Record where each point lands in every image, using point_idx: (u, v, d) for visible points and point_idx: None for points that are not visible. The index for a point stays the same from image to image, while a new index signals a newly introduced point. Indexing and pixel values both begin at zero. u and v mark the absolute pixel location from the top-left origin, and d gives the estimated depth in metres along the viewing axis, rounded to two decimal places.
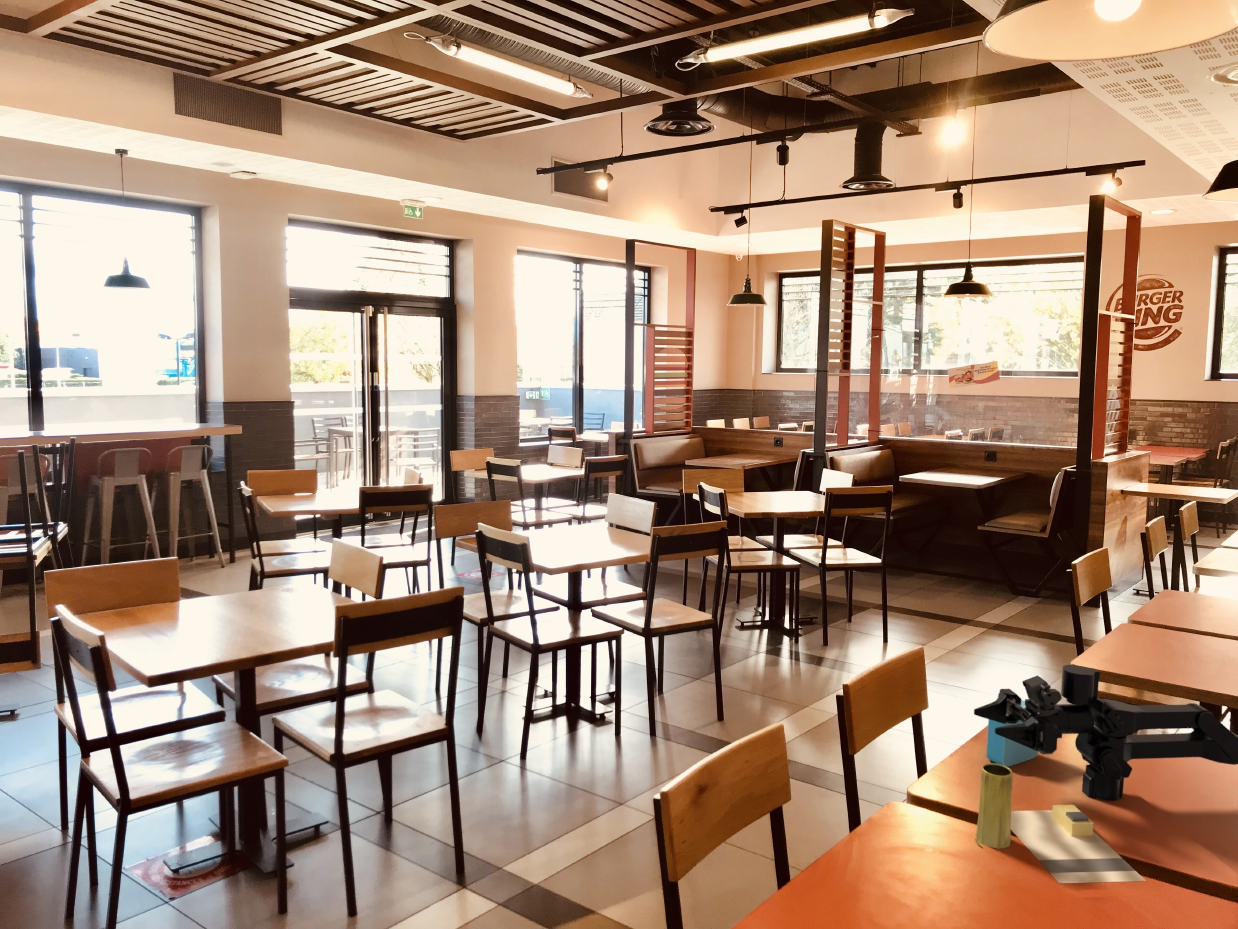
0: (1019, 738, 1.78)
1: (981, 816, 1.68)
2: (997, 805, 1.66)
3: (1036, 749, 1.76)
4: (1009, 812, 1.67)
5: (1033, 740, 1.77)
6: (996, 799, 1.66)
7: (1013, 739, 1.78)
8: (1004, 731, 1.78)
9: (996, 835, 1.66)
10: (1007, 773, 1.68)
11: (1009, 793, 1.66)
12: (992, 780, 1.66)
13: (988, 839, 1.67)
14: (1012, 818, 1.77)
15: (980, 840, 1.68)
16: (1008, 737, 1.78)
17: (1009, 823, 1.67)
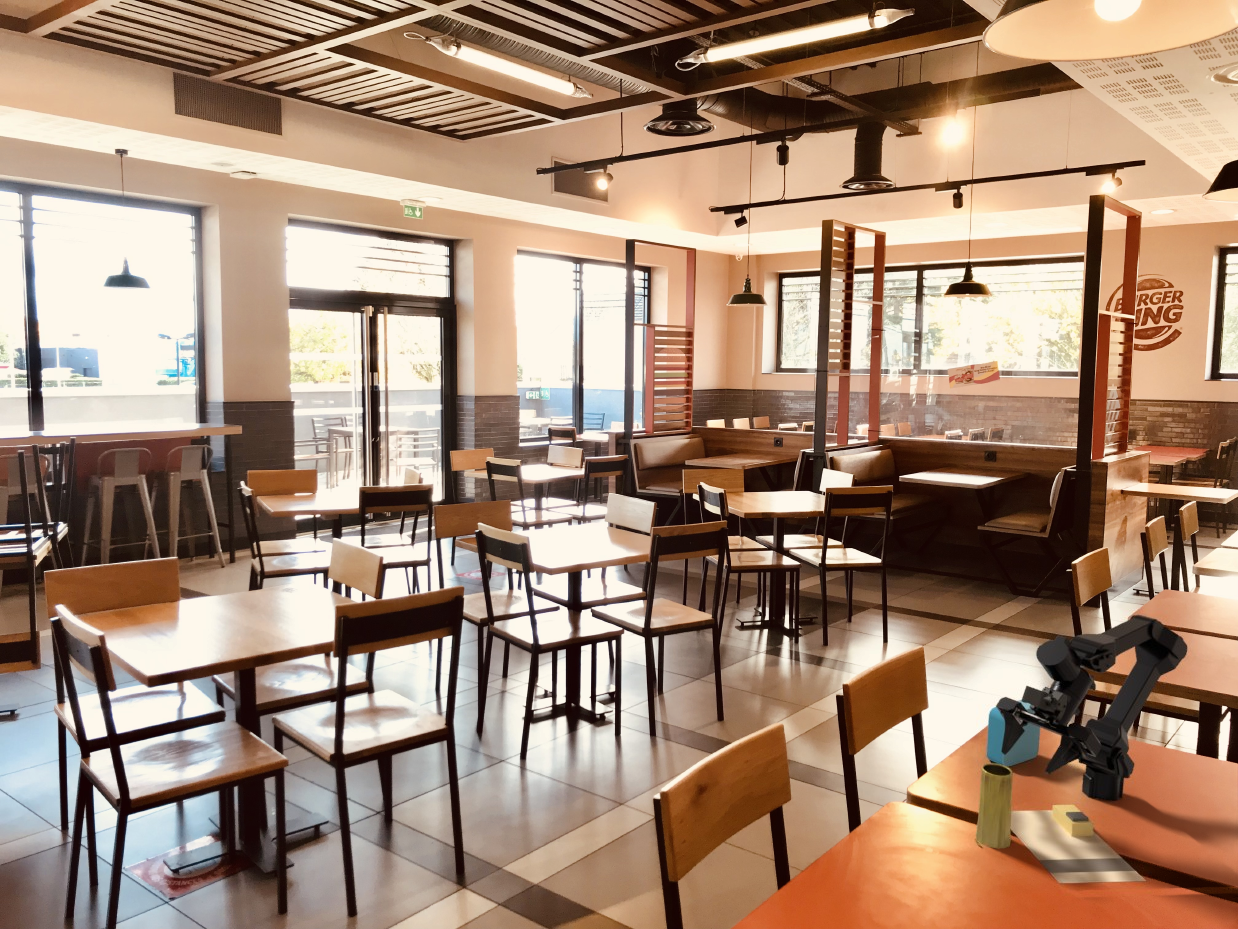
0: (1067, 759, 1.68)
1: (981, 816, 1.68)
2: (997, 805, 1.66)
3: (1086, 756, 1.68)
4: (1009, 812, 1.67)
5: (1078, 751, 1.68)
6: (996, 799, 1.66)
7: (1063, 764, 1.68)
8: (1053, 766, 1.68)
9: (996, 835, 1.66)
10: (1007, 773, 1.68)
11: (1009, 793, 1.66)
12: (993, 780, 1.66)
13: (988, 839, 1.67)
14: (1012, 818, 1.77)
15: (980, 840, 1.68)
16: (1059, 767, 1.68)
17: (1009, 823, 1.67)
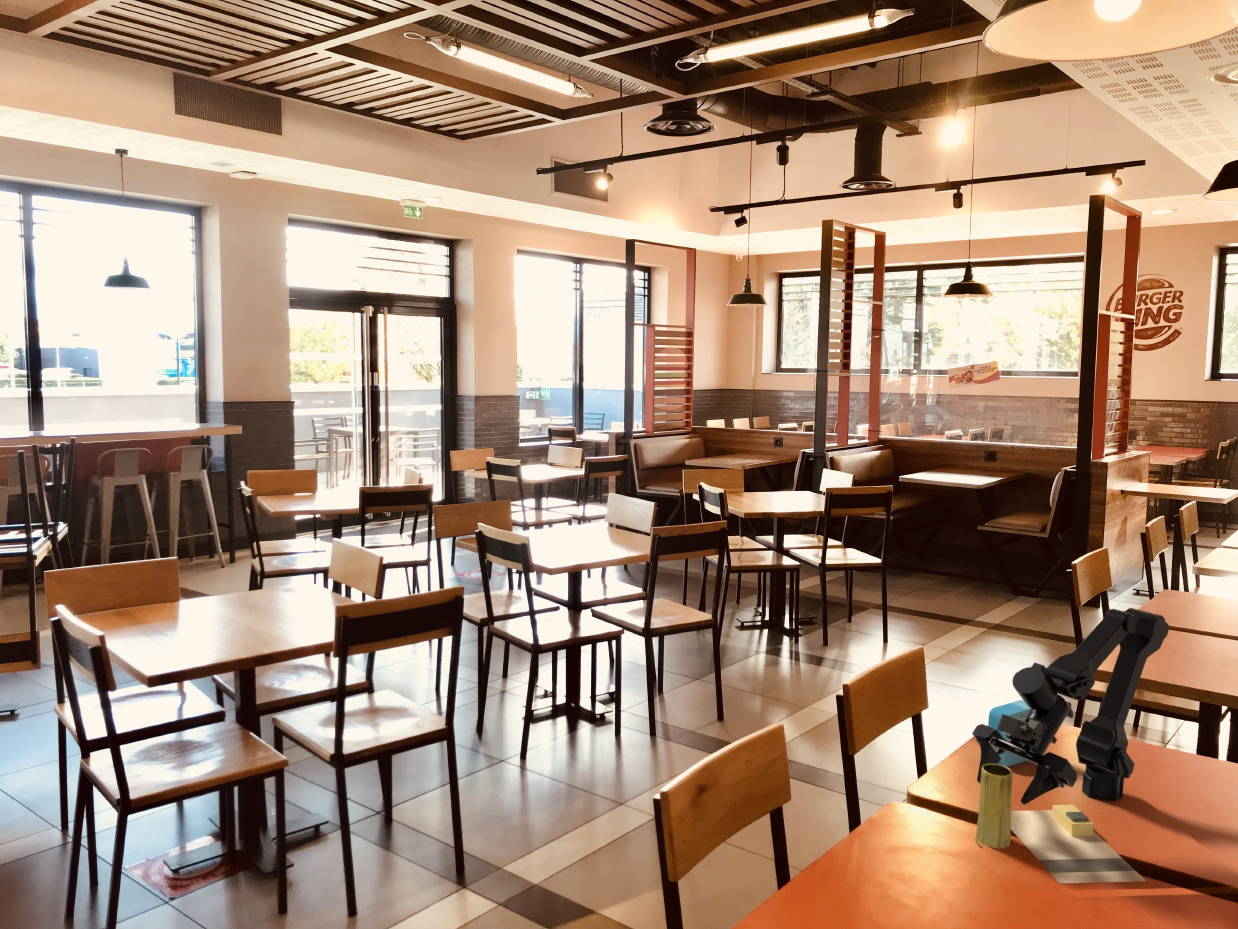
0: (1043, 789, 1.65)
1: (981, 816, 1.68)
2: (997, 805, 1.66)
3: (1062, 787, 1.65)
4: (1009, 812, 1.67)
5: (1054, 781, 1.65)
6: (996, 799, 1.66)
7: (1039, 794, 1.65)
8: (1029, 797, 1.65)
9: (996, 835, 1.66)
10: (1007, 773, 1.68)
11: (1009, 793, 1.66)
12: (993, 780, 1.66)
13: (988, 839, 1.67)
14: (1012, 818, 1.77)
15: (980, 840, 1.68)
16: (1035, 797, 1.65)
17: (1009, 823, 1.67)
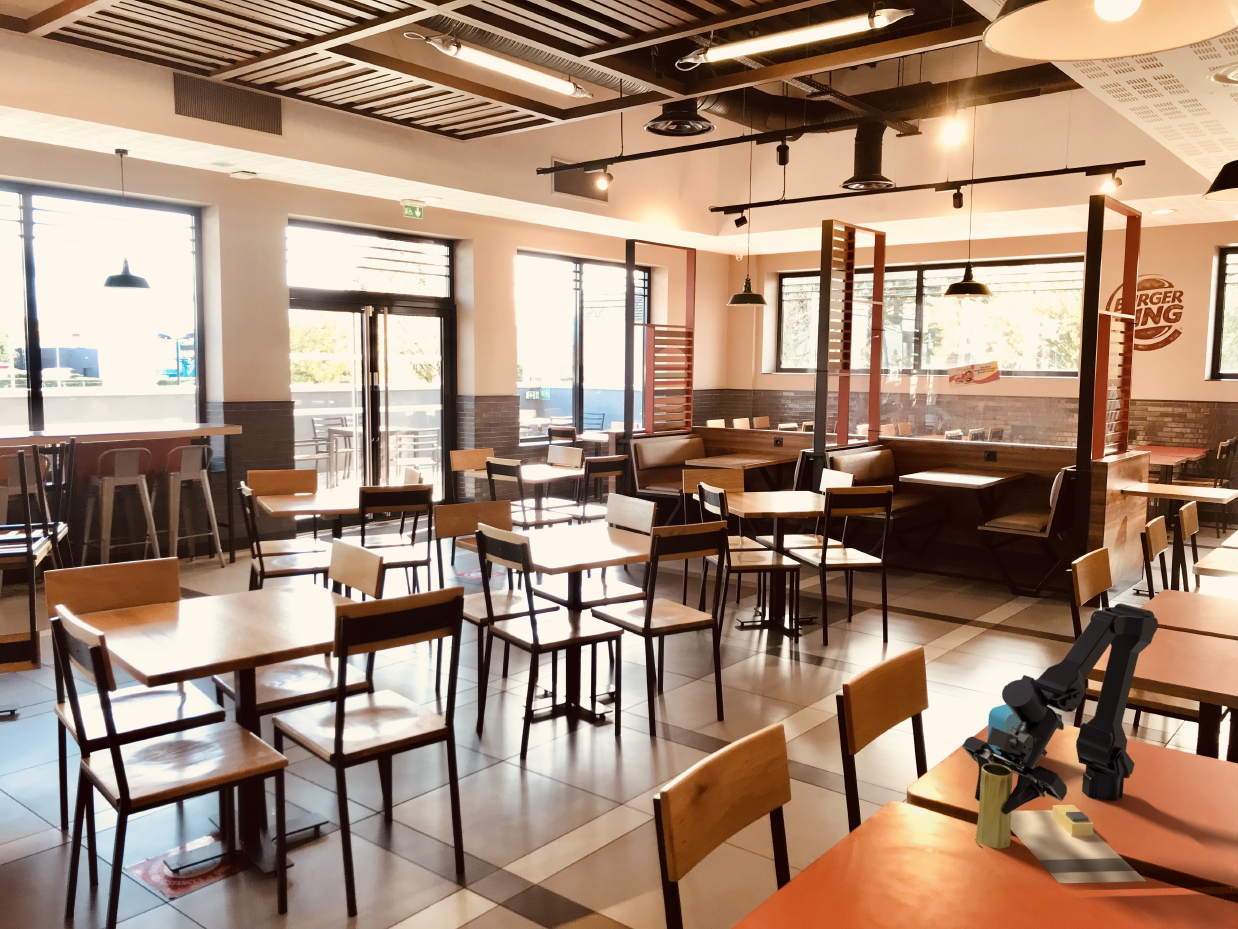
0: (1024, 799, 1.66)
1: (981, 816, 1.68)
2: (997, 805, 1.66)
3: (1044, 796, 1.65)
4: None
5: (1035, 791, 1.65)
6: (996, 799, 1.66)
7: (1020, 804, 1.66)
8: (1010, 807, 1.65)
9: (996, 835, 1.66)
10: (1007, 773, 1.68)
11: (1009, 793, 1.66)
12: (992, 780, 1.66)
13: (988, 839, 1.67)
14: (1012, 818, 1.77)
15: (980, 840, 1.68)
16: (1016, 807, 1.66)
17: (1009, 823, 1.67)
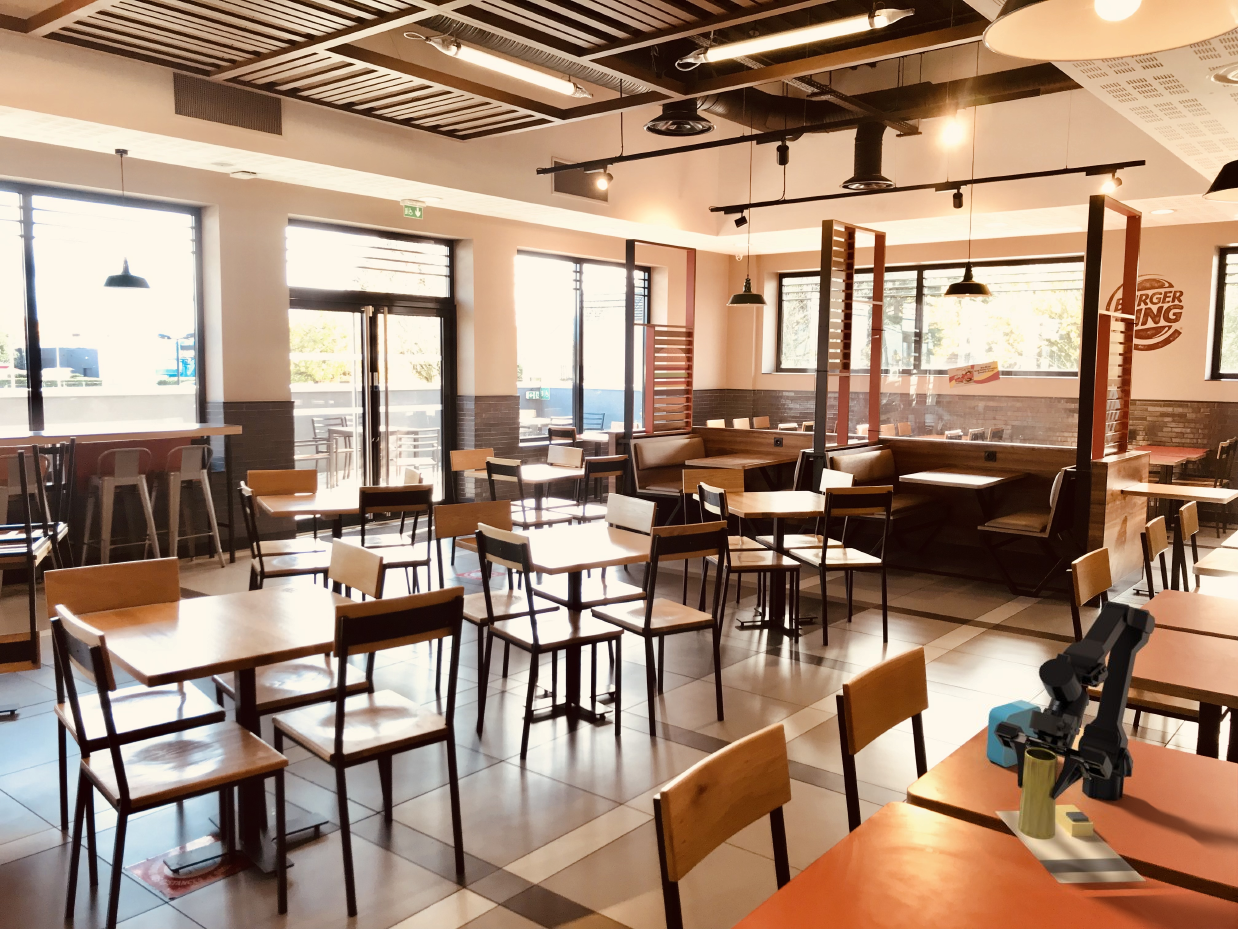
0: (1070, 781, 1.60)
1: (1027, 804, 1.61)
2: (1045, 791, 1.59)
3: (1088, 776, 1.61)
4: None
5: (1080, 772, 1.60)
6: (1044, 785, 1.59)
7: (1067, 787, 1.60)
8: (1058, 791, 1.59)
9: (1044, 822, 1.60)
10: (1049, 756, 1.62)
11: (1055, 777, 1.60)
12: (1041, 765, 1.59)
13: (1036, 827, 1.60)
14: (1012, 818, 1.77)
15: (1027, 829, 1.61)
16: (1063, 790, 1.60)
17: (1054, 808, 1.61)
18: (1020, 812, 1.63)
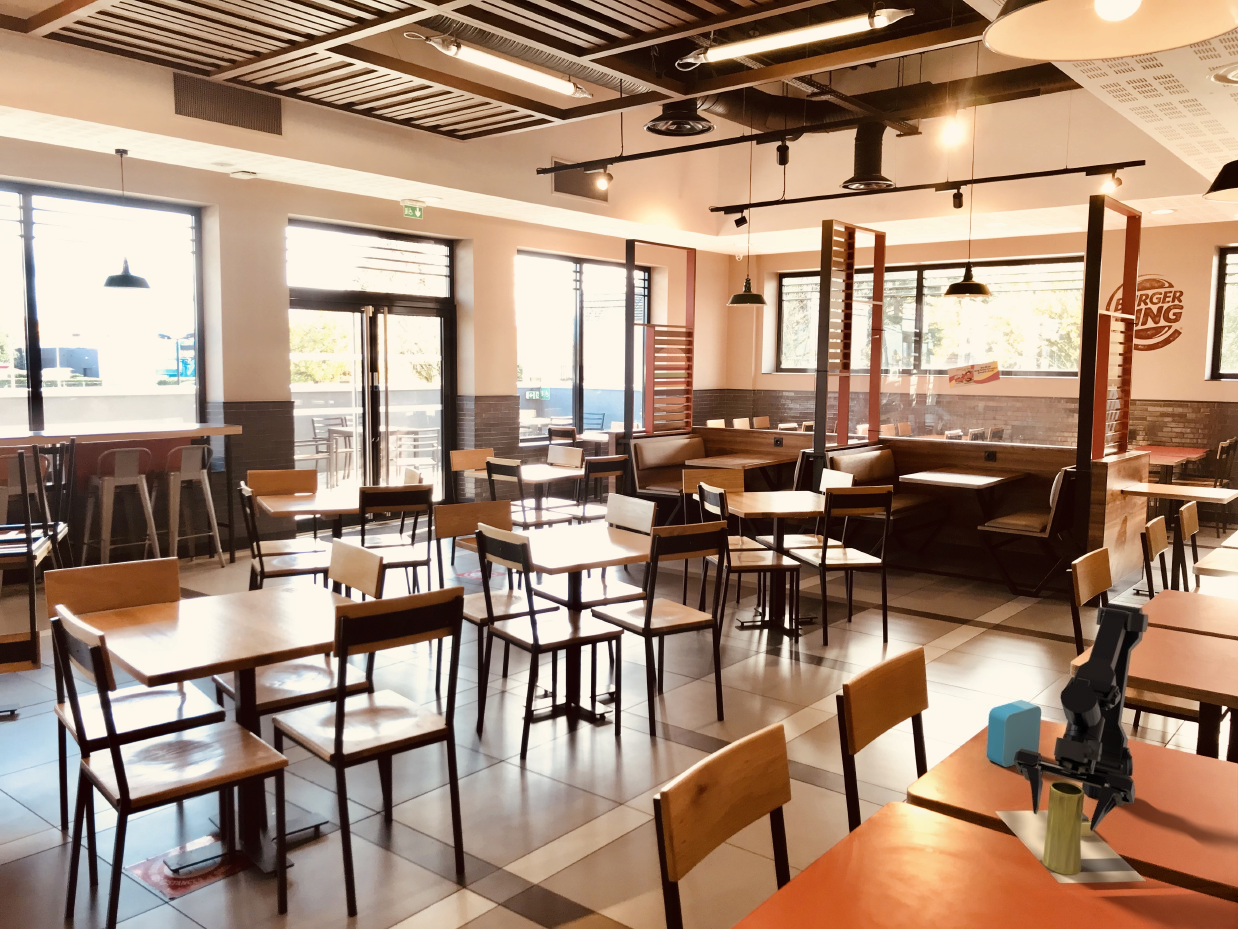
0: (1105, 811, 1.57)
1: (1054, 839, 1.59)
2: (1073, 826, 1.57)
3: (1122, 805, 1.58)
4: None
5: (1115, 801, 1.58)
6: (1072, 820, 1.57)
7: (1103, 817, 1.57)
8: (1097, 822, 1.56)
9: (1072, 857, 1.58)
10: (1073, 789, 1.60)
11: (1082, 811, 1.58)
12: (1069, 800, 1.57)
13: (1064, 863, 1.58)
14: (1012, 818, 1.77)
15: (1054, 865, 1.59)
16: (1100, 821, 1.57)
17: (1080, 842, 1.59)
18: (1045, 847, 1.61)
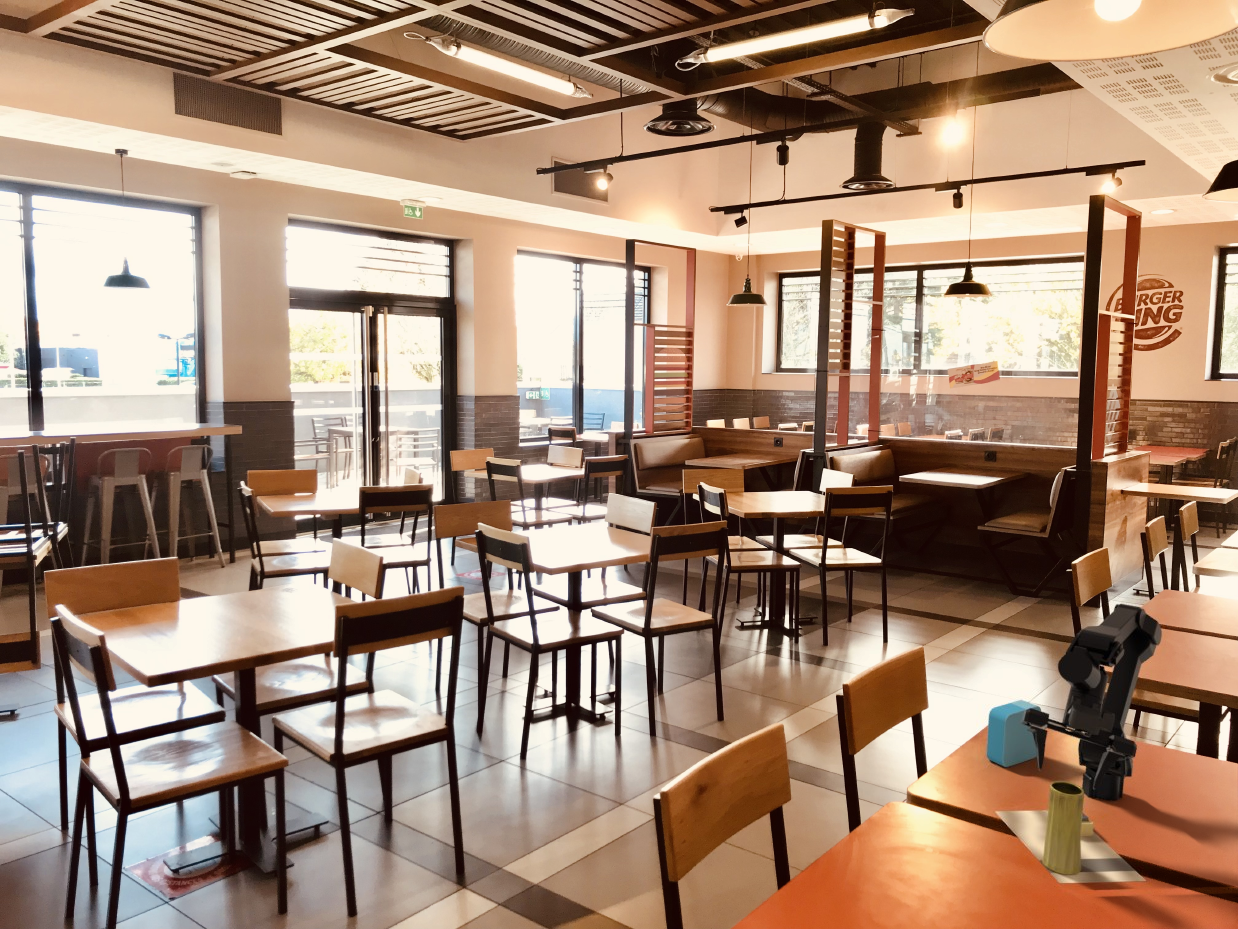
0: None
1: (1054, 839, 1.59)
2: (1073, 826, 1.57)
3: None
4: None
5: None
6: (1072, 820, 1.57)
7: None
8: (1100, 782, 1.67)
9: (1072, 857, 1.58)
10: (1073, 789, 1.60)
11: (1082, 811, 1.58)
12: (1069, 800, 1.57)
13: (1064, 863, 1.58)
14: (1012, 818, 1.77)
15: (1054, 865, 1.59)
16: None
17: (1080, 842, 1.59)
18: (1045, 847, 1.61)
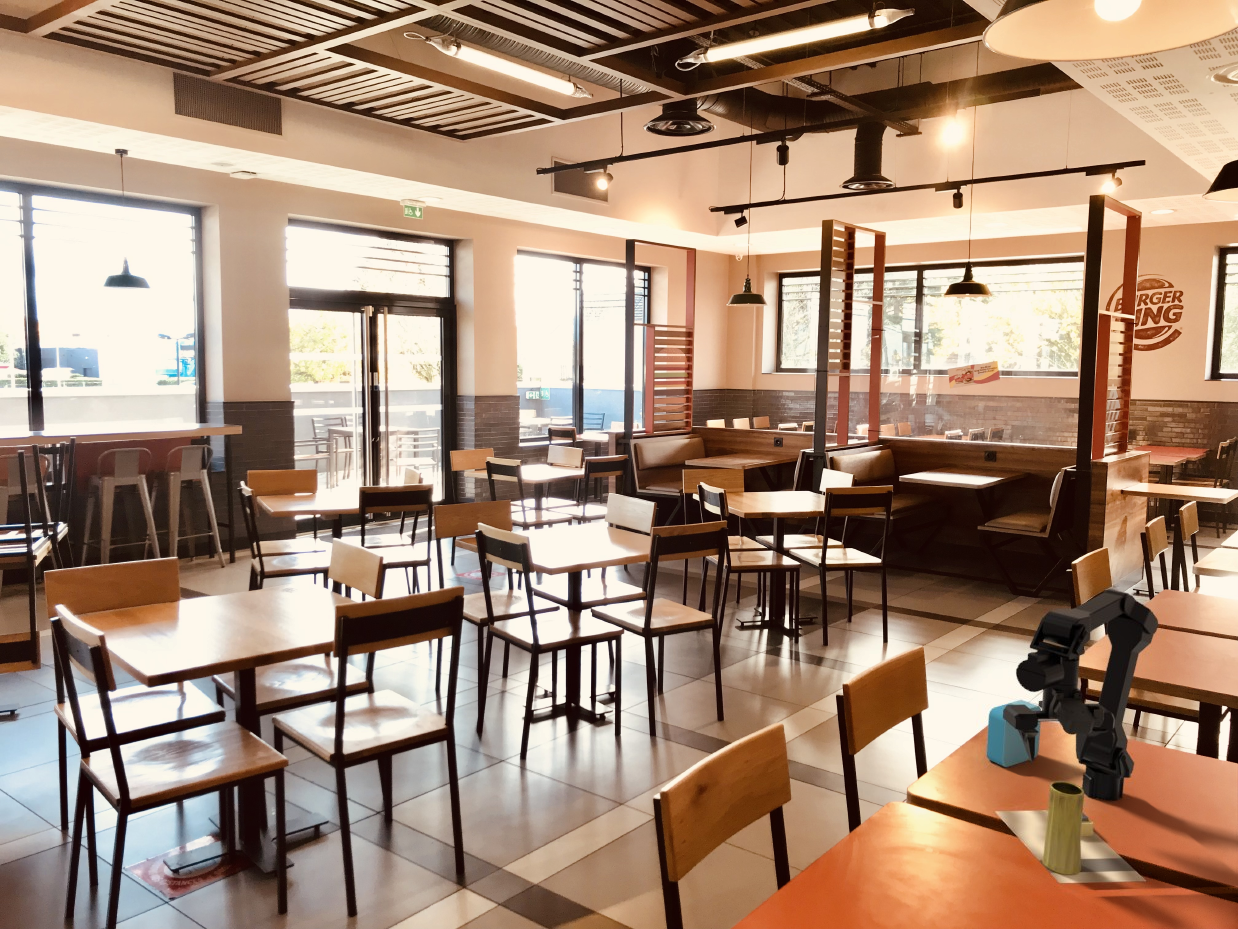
0: None
1: (1054, 839, 1.59)
2: (1073, 826, 1.57)
3: None
4: None
5: None
6: (1072, 820, 1.57)
7: None
8: None
9: (1072, 857, 1.58)
10: (1073, 789, 1.60)
11: (1082, 811, 1.58)
12: (1069, 800, 1.57)
13: (1064, 863, 1.58)
14: (1012, 818, 1.77)
15: (1054, 865, 1.59)
16: None
17: (1080, 842, 1.59)
18: (1045, 847, 1.61)
